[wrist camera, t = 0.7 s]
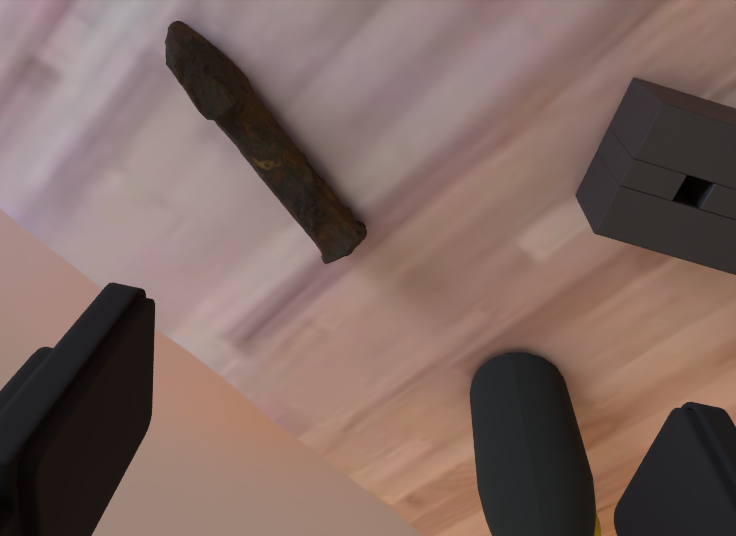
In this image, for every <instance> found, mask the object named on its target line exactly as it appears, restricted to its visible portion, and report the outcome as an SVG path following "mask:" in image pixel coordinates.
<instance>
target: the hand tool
mask: <svg viewBox="0 0 736 536" xmlns="http://www.w3.org/2000/svg"><path fill="white" fill-rule="evenodd" d="M165 44H166V65H167V66H168V67H169V68H170V70H171V71H172V73H173V74H174V75H175V77H176V78H177V80H178V81H179V83H180V84H181V85H182V86H183V88H184V89H185V91H186V92H187V94H188V95H189V97H190V99H191V100H192V102H193V103H194V105H195V106H196V108H197V109H198V110H199V112H200V113H201V114H202V115H203V116H204V117H205V118H206V119H208V120H214V121H215V122H216V123H217V125H218V126H219V127H220V128H221V130H222V131H224V133H225V134H226V135H227V136H228V137H229V138H230V139H231V140H232V142H233V143H234V144H235V145H236V146H237V147H238V149H239V150H240V152H241V154H242V155H243V156H244V157H245V158H246V160H247V161H248V162H249V163H250V164H251V166H252V167H253V168H254V170H255V171H256V172H257V173H258V175H259V176H260V177H261V179H262V180H263V181H264V182H265V183H266V185H267V186H268V187H269V188H270V190H271V191H272V192H273V193H274V195H275V196H276V197H277V198H278V199H279V200H280V202H281V203H282V204H283V205H284V207H285V208H286V209H287V210H288V211H289V213H290V214H291V215H292V216H293V218H294V219H295V220H296V221H297V222H298V223H299V224H300V226H301V227H302V228H303V229H304V230H305V232H306V233H307V234H308V235H309V236H310V237H311V239H312V240H313V241H314V242H315V244H316V245H317V247H318V248H319V250H320V251H321V253H322V257H321V258H322V260H323V262H324V263H325V264H327V263H331V262H333V261H336V260H338V259H340V258H342V257H344V256H348V255H350V254H351V253H352V252H353V250H354V249H355V248H356V247H357V246H358V245H359V244H360V243H361V241H363V240H364V239H365V238H366V235H367V230H366V226H365V224H364V223H363V222H360V221H356V220H355V219H354V216H353V213H352V211H351V210H350V208H348V207H345V206H344V205H343V204H342V203H341V201H340V200H339V199H338V197H337V196H336V195H335V193H334V191H333V190H332V188H331V187H330V186H329V185H328V184H327V183H326V181H325V180H324V179H323V178H321V177H320V176H319V174H318V173H317V172H316V171H315V169H314V168H313V167H312V166H311V164H310V163H309V161H308V159H307V157H306V156H305V154H303V153H302V152H301V151H300V150H299V149H298V147H297V146H296V145H295V144H294V143H293V142H292V140H291V139H290V138H289V136H288V135H287V134H286V133H285V131H284V130H283V129H282V128H281V127H280V125H279V124H278V123H277V121H276V120H275V119H274V117H273V116H272V115H271V114H270V113H269V112H268V110H267V109H266V108H265V106H264V105H263V104H262V102H261V101H260V100H259V99H258V97H257V96H256V95H255V94H254V92H253V90H252V89H251V87H250V85H249V83H248V79H247V78H246V77H245V75H244V74H243V73H242V72H241V71H240V70H239V69H238V68H237V67H236V66H235V65H234V64H233V63H232V62H231V61H230V60H229V59H228V58H227V57H226V56H225V55H224V54H222V53H221V52H220V51H219V50H218V49H217V48H216V47H214V46H213V45H212V44H211V43H210V42H209V41H207V40H206V39H205V38H204V37H202V36H201V35H200V34H198V33H197V32H196V31H194V30H193V29H192V28H190V27H189V26H188V25H187V24H185V23H183V22H181V21H176V22H173V23H172V24H170V26H169V27H168V33H167V38H166V41H165Z"/></svg>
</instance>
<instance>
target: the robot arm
mask: <svg viewBox="0 0 736 536" xmlns="http://www.w3.org/2000/svg"><path fill="white" fill-rule="evenodd" d="M154 328H155V302H154V300H153V299H149V298H146V293H145V290H143V289H141V288H136V287H132V286H127V285H122V284H117V283H109V284H108V285H107V286H106V287H105V288H104V289H103V290H102V291H101V293H100V294H99V295H98V296H97V297H96V299H95V300H94V301H93V302H92V303H91V304H90V306H89V307H88V308H87V309H86V310H85V312H84V313H83V314H82V315H81V316H80V317H79V319H78V320H77V321H76V322H75V323H74V325H73V326H72V327H71V328H70V329H69V330H68V332H67V333H66V334H65V335H64V336H63V338H62V339H61V340H60V341H59V342H58V343H57V345H56V346H55V347H54V348H50V347H43V348H40V349H38V350H37V351H36V352H35V353H34V354H33V355H32V356H31V357H30V358H29V359H28V360H27V361H26V362H25V364H24V365H23V366H22V367H21V368H20V369H19V370H18V371H17V373H16V374H15V375H14V376H13V377H12V378H11V380H10V381H9V382H8V383H7V384H6V385H5V386H4V388H3V389H2V390H1V391H0V536H91V535H92V534H93V532H94V530H95V528H96V526H97V524H98V522H99V521H100V519H101V517H102V515H103V513H104V511H105V509H106V507H107V506H108V503H109V502H110V500H111V498H112V496H113V494H114V492H115V490H116V489H117V487H118V485H119V483H120V481H121V479H122V477H123V476H124V474H125V472H126V470H127V468H128V466H129V464H130V462H131V461H132V459H133V457H134V455H135V453H136V451H137V449H138V447H139V445H140V444H141V442H142V440H143V438H144V436H145V434H146V432H147V430H148V427H149V424H150V421H151V416H152V395H153V361H154ZM614 525H615V529H616V533H617V536H736V427H735V425H734V423H733V422H732V420H731V418H730V417H729V415H728V414H727V412H726V411H725V410H723V409H721V408H718V407H713V406H708V405H704V404H699V403H694V402H687V403H685V404H684V405H683V406H682V407H681V408H675V409H673V410H672V412H671V413H670V414H669V416H668V418H667V420H666V421H665V423H664V425H663V426H662V428H661V430H660V432H659V433H658V435H657V437H656V438H655V440H654V442H653V444H652V445H651V447H650V449H649V451H648V452H647V454H646V456H645V457H644V459H643V461H642V463H641V464H640V466H639V468H638V469H637V471H636V473H635V475H634V476H633V478H632V480H631V481H630V483H629V485H628V487H627V488H626V490H625V492H624V494H623V495H622V497H621V499H620V500H619V502H618V504H617V506H616V508H615V512H614Z"/></svg>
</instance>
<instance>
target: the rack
mask: <svg viewBox="0 0 736 536" xmlns="http://www.w3.org/2000/svg"><path fill="white" fill-rule="evenodd" d="M609 127H610V128H608V130H607V132H606V134H605V136H604V138H603V140H602V142H601V144H600V146H599V148H598V150H597V153H596V155H595V157H594V159H593V161H592V163H591V165H590V167H589V169H588V171H587V173H586V175H585V177H584V179H583V181H582V183H581V185H580V187H579V189H578V191H577V193H576V198H577V200H578V202H579V204H580V206H581V208H582V210H583V212H584V214H585V216H586V218H587V220H588V222H589V224H590V226H591V228H592V230H593V232H594V233H595V234H598V235H601V236H605V237H608V238H612V239H615V240H618V241H622V242H625V243H629V244H632V245H635V246H639V247H642V248H646V249H649V250H652V251H656V252H659V253H663V254H666V255H669V256H673V257H676V258H680V259H683V260H687V261H690V262H693V263H697V264H700V265H704V266H707V267H710V268H714V269H717V270H721V271H724V272H727V273H731V274H734V275H736V109H734V108H731V107H728V106H725V105H721V104H718V103H715V102H712V101H709V100H705V99H702V98H699V97H696V96H693V95H689V94H686V93H683V92H680V91H677V90H673V89H670V88H667V87H664V86H661V85H657V84H654V83H651V82H648V81H645V80H642V79H638V78H635V77H634V78H633V79H632V81H631V83H630V85H629V87H628V89H627V92H626V94H625V96H624V98H623V100H622V102H621V104H620V106H619V108H618V110H617V112H616V114H615V116H614V118H613V120H612V122H611V124H610V126H609Z"/></svg>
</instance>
